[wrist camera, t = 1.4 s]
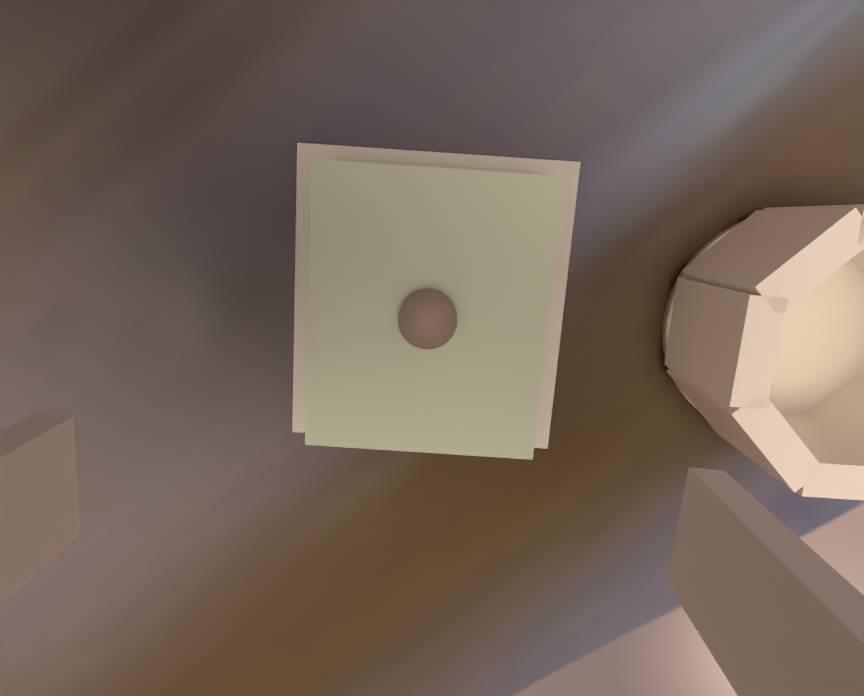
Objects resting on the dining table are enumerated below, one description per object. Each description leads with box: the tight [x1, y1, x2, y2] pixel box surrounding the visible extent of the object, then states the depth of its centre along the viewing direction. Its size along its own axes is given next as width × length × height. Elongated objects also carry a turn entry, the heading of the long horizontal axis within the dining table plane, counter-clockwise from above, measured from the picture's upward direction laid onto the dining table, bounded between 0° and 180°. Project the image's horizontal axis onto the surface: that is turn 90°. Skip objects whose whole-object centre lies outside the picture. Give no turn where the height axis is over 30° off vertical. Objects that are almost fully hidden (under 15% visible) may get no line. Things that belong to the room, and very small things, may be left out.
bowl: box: [662, 204, 864, 500], centre depth 25 cm, size 11×11×8 cm
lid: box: [305, 159, 564, 460], centre depth 26 cm, size 12×10×5 cm
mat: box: [292, 143, 581, 449], centre depth 29 cm, size 14×13×1 cm
